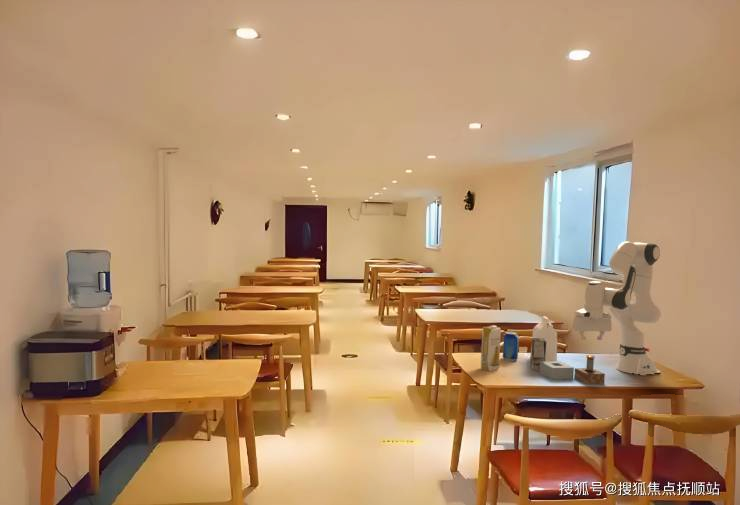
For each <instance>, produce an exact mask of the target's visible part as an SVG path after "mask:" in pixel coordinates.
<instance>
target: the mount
mask: <svg viewBox="0 0 740 505" xmlns="http://www.w3.org/2000/svg"><path fill="white" fill-rule="evenodd" d="M605 377H606V373H604V372H601V371H599V370H598V369H595V368H593V372H587V371H586V367H577V368H576V367H574V375H573V379H574V378H575V380H578V381H580V382H582V383H583V384H586V385H596V384H600V385H601V384H605V381H606V380H605Z"/></svg>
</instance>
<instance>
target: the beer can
mask: <svg viewBox="0 0 740 505" xmlns="http://www.w3.org/2000/svg"><path fill="white" fill-rule="evenodd" d="M519 340H520V337H519V335H518V332H515V331H506V332H505V334H504V335H503V346H502V347H503V348H502V359H503V360H504V361H507V362H516V361H517V360H518V359H519V343H520V342H519Z"/></svg>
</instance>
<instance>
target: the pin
mask: <svg viewBox="0 0 740 505" xmlns="http://www.w3.org/2000/svg"><path fill="white" fill-rule="evenodd" d="M595 357H596V356H595V355H590V354H587V355H586V367H585V368H586V371H587V372H593V369H594V362H595Z"/></svg>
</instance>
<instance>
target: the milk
mask: <svg viewBox="0 0 740 505" xmlns="http://www.w3.org/2000/svg"><path fill="white" fill-rule="evenodd" d="M532 330H533V331H532V338H540V339H544V340H545V341H546V355H545V361H558V332H557V330H556V329H555V328H554V325H553V324H552V323H551V322H550V319H549V318H548V317H547V316H542V318H541V321H539V322H538V323H537V324H536V325H535V326H534V327H533V329H532ZM532 338H531V339H532ZM531 350H532V345H531V348H530V351H531ZM529 357H530V359H531V354H530V355H529Z"/></svg>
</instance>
